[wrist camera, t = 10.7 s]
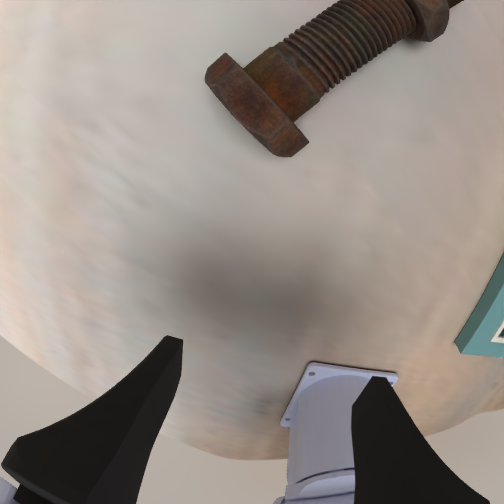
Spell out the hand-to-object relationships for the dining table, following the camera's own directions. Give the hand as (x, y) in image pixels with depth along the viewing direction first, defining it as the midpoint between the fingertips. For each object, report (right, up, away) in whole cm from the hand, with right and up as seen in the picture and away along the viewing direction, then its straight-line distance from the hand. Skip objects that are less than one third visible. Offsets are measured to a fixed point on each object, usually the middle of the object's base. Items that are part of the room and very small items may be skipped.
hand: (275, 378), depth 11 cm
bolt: (+5, +16, +2) cm, 17 cm away
